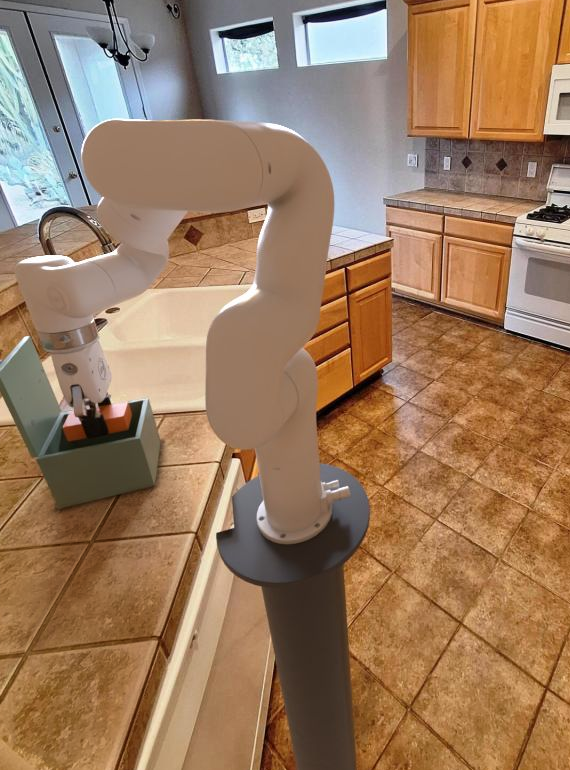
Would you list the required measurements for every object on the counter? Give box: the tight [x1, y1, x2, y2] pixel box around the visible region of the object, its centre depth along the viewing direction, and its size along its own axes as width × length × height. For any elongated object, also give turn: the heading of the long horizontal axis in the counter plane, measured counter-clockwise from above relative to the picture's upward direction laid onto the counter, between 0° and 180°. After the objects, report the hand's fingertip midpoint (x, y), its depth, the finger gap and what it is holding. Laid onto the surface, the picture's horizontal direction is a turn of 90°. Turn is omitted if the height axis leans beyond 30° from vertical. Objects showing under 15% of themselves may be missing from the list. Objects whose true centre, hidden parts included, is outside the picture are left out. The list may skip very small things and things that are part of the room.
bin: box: [35, 397, 162, 510], centre depth 79 cm, size 15×14×11 cm
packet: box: [63, 401, 132, 441], centre depth 76 cm, size 9×5×3 cm, turn 112°
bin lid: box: [0, 335, 61, 459], centre depth 70 cm, size 15×14×5 cm
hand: (101, 425), depth 77 cm, fingers closed on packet, 5 cm apart
